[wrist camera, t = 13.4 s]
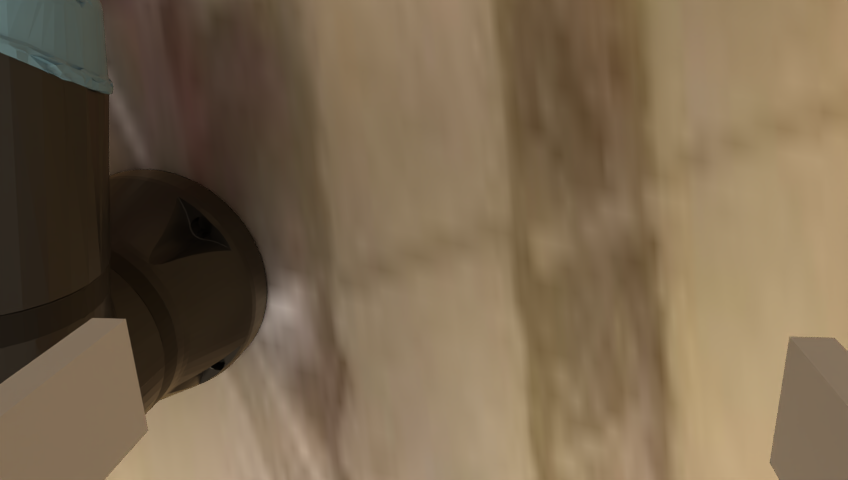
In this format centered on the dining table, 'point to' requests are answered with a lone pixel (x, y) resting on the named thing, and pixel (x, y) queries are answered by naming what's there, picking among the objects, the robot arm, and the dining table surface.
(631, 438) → the dining table surface
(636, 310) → the dining table surface
